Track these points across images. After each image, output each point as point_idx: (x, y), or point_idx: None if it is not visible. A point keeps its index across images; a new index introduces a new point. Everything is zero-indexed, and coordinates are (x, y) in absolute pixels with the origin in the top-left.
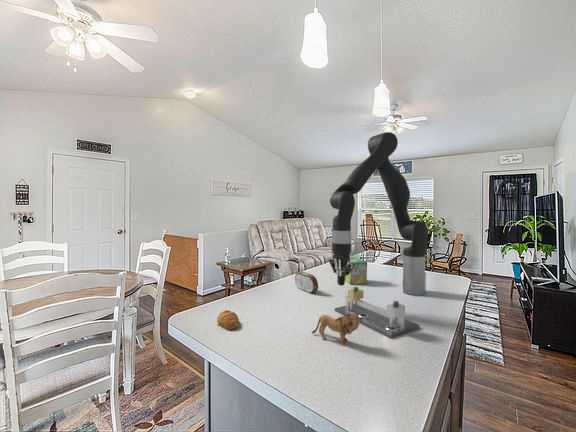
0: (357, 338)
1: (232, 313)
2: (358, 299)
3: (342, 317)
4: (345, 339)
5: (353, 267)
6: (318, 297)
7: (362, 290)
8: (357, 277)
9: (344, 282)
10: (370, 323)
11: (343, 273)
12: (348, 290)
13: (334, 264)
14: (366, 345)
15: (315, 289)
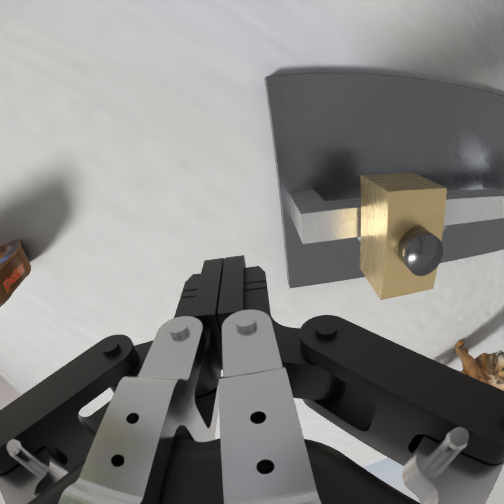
0: (474, 314)
1: None
2: None
3: None
4: (462, 346)
5: (498, 388)
6: (78, 257)
7: (445, 198)
8: None
9: (265, 277)
10: (477, 243)
11: (327, 399)
12: (387, 298)
13: (70, 451)
14: (496, 311)
15: (24, 260)
